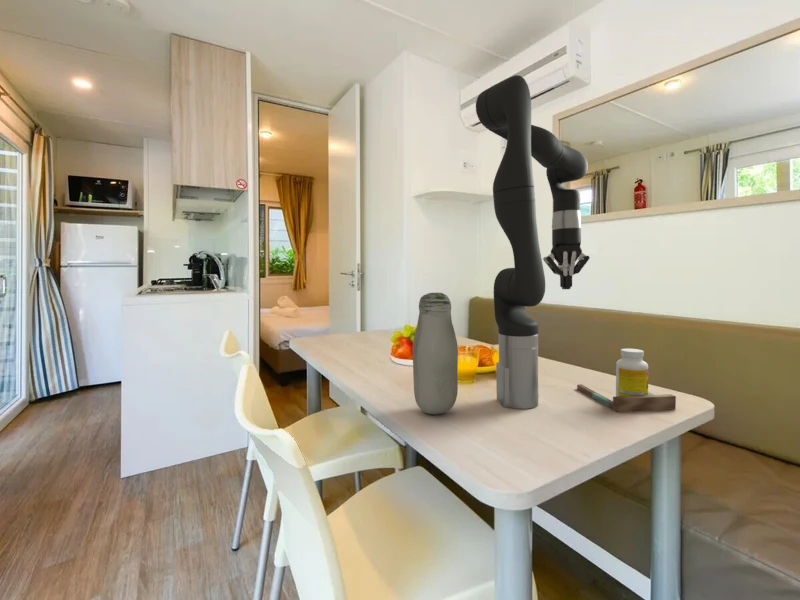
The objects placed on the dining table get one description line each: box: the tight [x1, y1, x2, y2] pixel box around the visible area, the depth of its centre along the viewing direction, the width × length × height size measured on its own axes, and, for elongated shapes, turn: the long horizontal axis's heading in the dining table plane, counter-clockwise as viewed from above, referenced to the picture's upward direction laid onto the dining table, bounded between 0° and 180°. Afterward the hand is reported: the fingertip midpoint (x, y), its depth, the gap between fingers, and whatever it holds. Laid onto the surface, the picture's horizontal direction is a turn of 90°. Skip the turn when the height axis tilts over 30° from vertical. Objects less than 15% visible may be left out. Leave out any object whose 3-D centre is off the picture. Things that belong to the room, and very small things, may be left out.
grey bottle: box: [412, 292, 459, 415], centre depth 88 cm, size 10×10×28 cm
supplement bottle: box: [615, 347, 649, 397], centre depth 91 cm, size 7×7×13 cm
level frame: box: [576, 383, 677, 413], centre depth 95 cm, size 14×18×3 cm
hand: (566, 289), depth 109 cm, fingers closed
